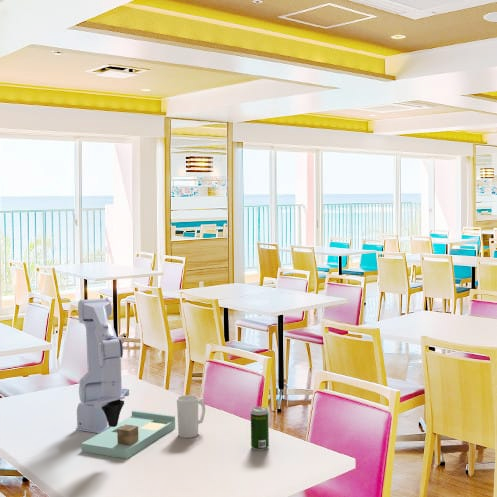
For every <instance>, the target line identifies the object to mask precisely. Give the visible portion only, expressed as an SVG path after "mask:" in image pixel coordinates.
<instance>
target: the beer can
mask: <svg viewBox="0 0 497 497" xmlns="http://www.w3.org/2000/svg"><path fill="white" fill-rule="evenodd" d="M269 424H270V423H269V410H268V408H267V407H265V406H254V407H251V410H250V446H251V449H252V450H253V451H257V452H263V451H266V450H268V449H269V446H270V440H269V437H270V434H269V432H270V431H269V427H270V425H269Z"/></svg>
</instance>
